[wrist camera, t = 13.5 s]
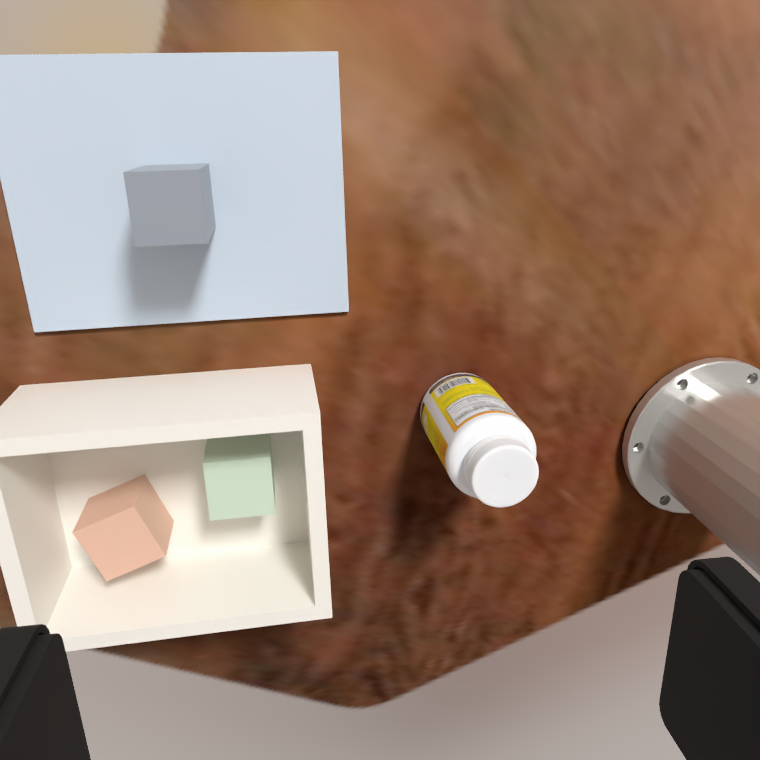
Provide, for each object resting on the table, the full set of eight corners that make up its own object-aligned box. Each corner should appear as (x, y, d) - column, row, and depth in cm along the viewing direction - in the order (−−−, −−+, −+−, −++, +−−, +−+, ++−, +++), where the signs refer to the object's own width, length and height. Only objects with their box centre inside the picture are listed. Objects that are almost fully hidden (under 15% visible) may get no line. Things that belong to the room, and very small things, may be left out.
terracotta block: (144, 474, 44) (133, 506, 40) (173, 521, 45) (166, 556, 42) (88, 498, 44) (72, 532, 40) (119, 544, 45) (106, 581, 41)
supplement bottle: (465, 455, 48) (514, 535, 39) (402, 420, 46) (437, 496, 37) (510, 392, 47) (572, 460, 38) (448, 355, 45) (496, 416, 36)
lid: (336, 53, 38) (350, 38, 32) (347, 307, 44) (361, 339, 37) (-20, 57, 35) (-83, 41, 29) (39, 327, 41) (-3, 365, 34)
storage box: (310, 363, 44) (320, 412, 36) (322, 543, 49) (332, 617, 42) (20, 385, 41) (-34, 442, 34) (63, 572, 46) (25, 657, 39)
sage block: (269, 429, 44) (270, 457, 40) (274, 482, 45) (275, 514, 42) (207, 434, 43) (202, 463, 40) (214, 488, 45) (210, 521, 41)
